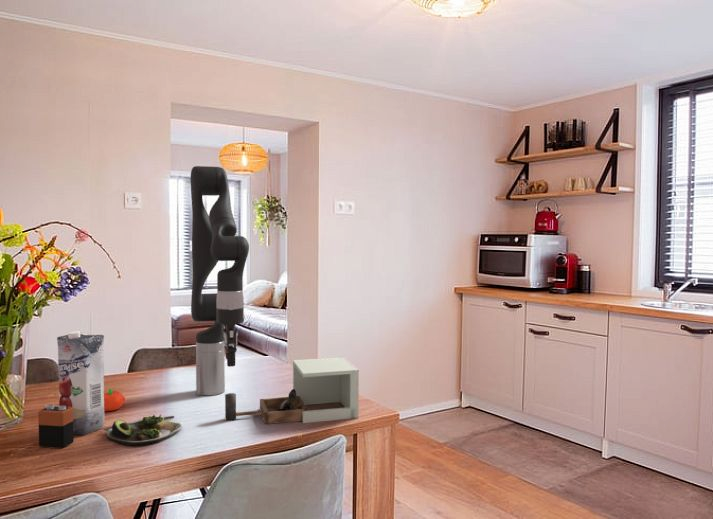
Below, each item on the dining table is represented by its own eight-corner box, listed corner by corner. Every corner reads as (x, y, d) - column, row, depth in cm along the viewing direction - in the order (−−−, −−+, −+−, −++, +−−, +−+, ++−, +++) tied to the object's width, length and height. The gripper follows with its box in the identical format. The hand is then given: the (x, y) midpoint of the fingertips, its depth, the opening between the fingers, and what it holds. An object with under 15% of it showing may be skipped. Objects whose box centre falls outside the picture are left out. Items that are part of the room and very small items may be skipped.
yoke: (226, 427, 148) (226, 402, 148) (224, 411, 162) (224, 388, 162) (307, 420, 155) (307, 395, 154) (299, 405, 168) (298, 383, 168)
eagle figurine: (310, 411, 159) (301, 397, 168) (298, 394, 157) (289, 380, 165) (288, 427, 158) (280, 412, 166) (276, 409, 155) (268, 395, 163)
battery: (50, 441, 139) (49, 402, 138) (74, 442, 138) (73, 403, 137) (37, 447, 134) (37, 407, 134) (62, 449, 133) (62, 408, 133)
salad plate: (154, 417, 158) (153, 401, 158) (198, 428, 149) (198, 411, 149) (93, 438, 141) (93, 421, 141) (140, 452, 132) (140, 433, 132)
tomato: (107, 416, 159) (103, 395, 159) (95, 410, 165) (92, 390, 164) (130, 408, 165) (127, 387, 164) (119, 402, 170) (116, 382, 169)
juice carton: (83, 421, 153) (82, 326, 152) (109, 427, 148) (108, 329, 147) (54, 431, 145) (52, 331, 144) (80, 438, 140) (78, 334, 139)
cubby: (303, 422, 153) (303, 373, 152) (293, 404, 169) (293, 360, 169) (358, 417, 157) (358, 369, 156) (343, 400, 174) (343, 357, 173)
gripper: (215, 303, 160) (216, 357, 161) (217, 310, 146) (217, 369, 147) (241, 302, 162) (241, 356, 163) (245, 309, 148) (245, 367, 149)
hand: (230, 362), depth 155 cm, fingers open, 8 cm apart
